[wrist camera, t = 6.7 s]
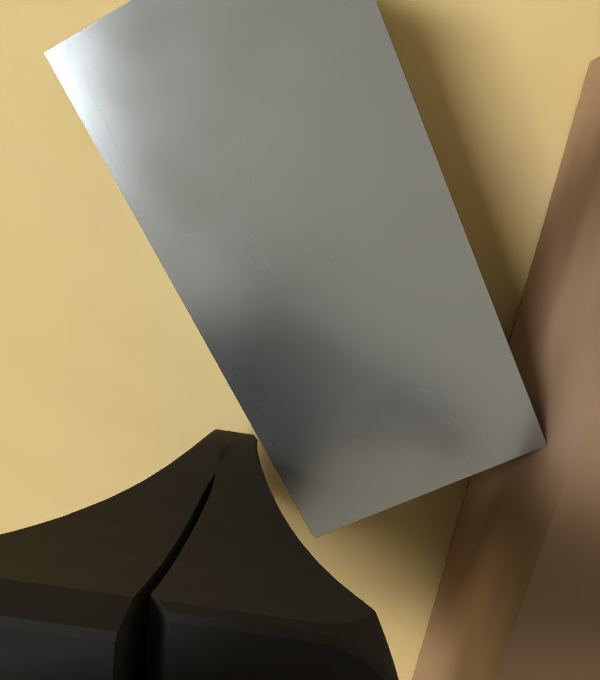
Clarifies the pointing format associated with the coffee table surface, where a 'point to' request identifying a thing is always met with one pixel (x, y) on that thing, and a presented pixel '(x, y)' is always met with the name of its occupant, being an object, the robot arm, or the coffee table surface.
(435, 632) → the walnut bar
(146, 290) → the coffee table surface
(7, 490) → the coffee table surface
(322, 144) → the plate block
